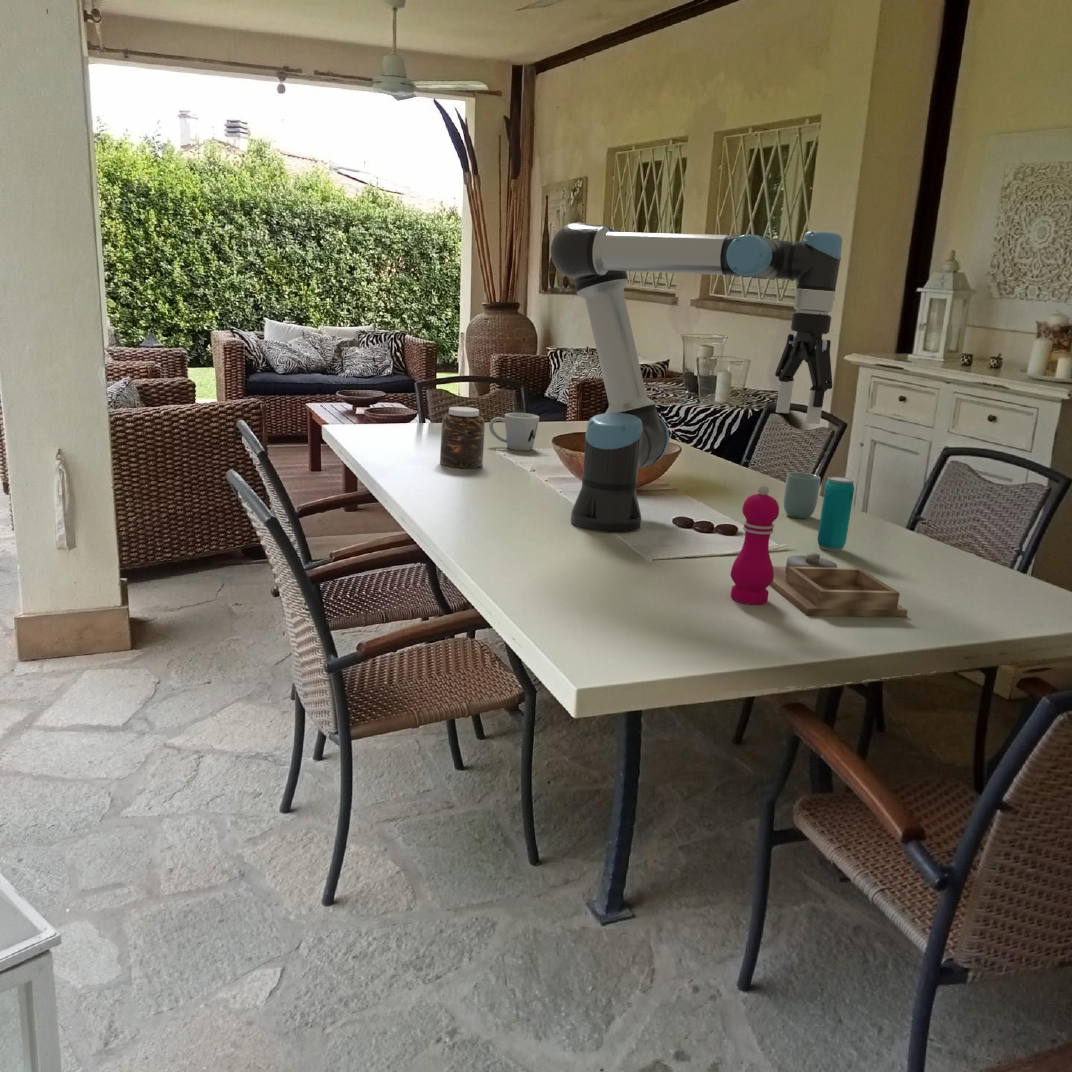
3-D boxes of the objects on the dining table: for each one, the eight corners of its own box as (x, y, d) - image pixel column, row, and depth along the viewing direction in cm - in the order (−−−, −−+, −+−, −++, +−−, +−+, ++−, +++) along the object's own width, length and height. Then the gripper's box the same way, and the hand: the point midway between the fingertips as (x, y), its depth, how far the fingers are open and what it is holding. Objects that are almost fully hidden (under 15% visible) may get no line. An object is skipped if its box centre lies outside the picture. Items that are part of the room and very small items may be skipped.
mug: (536, 452, 295) (539, 419, 292) (486, 448, 294) (488, 415, 292) (537, 446, 305) (539, 414, 302) (488, 443, 305) (490, 410, 302)
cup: (815, 522, 232) (822, 480, 229) (781, 518, 233) (787, 476, 231) (813, 515, 239) (819, 474, 237) (780, 511, 241) (786, 470, 238)
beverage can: (844, 547, 211) (855, 478, 207) (843, 554, 205) (855, 483, 201) (817, 543, 212) (827, 474, 208) (815, 549, 207) (825, 479, 203)
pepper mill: (722, 591, 174) (736, 479, 169) (762, 593, 175) (778, 482, 170) (734, 605, 167) (749, 489, 162) (775, 606, 168) (792, 491, 163)
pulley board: (806, 615, 165) (810, 585, 163) (753, 572, 188) (756, 545, 186) (906, 616, 168) (911, 587, 166) (842, 573, 191) (846, 547, 189)
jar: (491, 465, 271) (494, 410, 267) (466, 470, 261) (469, 413, 257) (456, 458, 277) (459, 404, 273) (430, 463, 267) (433, 407, 263)
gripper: (861, 317, 189) (843, 428, 194) (800, 310, 212) (786, 409, 218) (825, 315, 187) (808, 427, 192) (768, 307, 210) (754, 407, 216)
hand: (796, 417), depth 205 cm, fingers open, 13 cm apart
